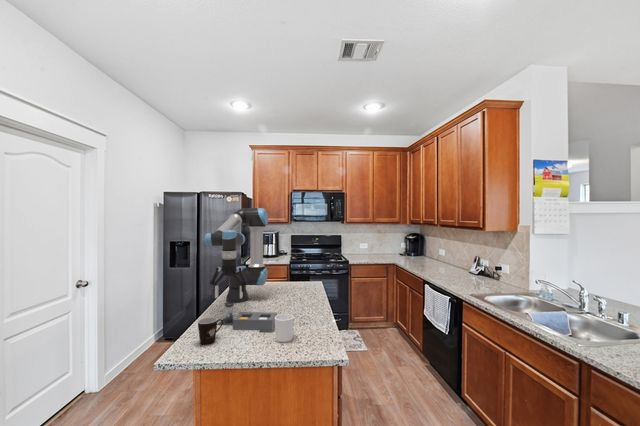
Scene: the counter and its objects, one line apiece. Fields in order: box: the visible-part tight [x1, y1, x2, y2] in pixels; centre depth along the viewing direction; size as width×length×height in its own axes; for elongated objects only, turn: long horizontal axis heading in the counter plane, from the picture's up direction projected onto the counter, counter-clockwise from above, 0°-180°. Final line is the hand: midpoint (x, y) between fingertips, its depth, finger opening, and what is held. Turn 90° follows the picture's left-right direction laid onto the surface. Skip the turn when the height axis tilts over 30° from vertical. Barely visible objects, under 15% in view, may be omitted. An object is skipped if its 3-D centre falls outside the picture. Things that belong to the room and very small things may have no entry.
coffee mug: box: [197, 316, 224, 346], centre depth 134 cm, size 12×9×10 cm
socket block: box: [232, 311, 278, 333], centre depth 151 cm, size 12×20×6 cm, turn 87°
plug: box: [224, 301, 235, 323], centre depth 157 cm, size 5×5×10 cm
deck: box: [217, 318, 233, 326], centre depth 157 cm, size 10×10×1 cm
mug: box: [274, 313, 295, 344], centre depth 137 cm, size 11×9×10 cm
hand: (228, 297), depth 157 cm, fingers open, 13 cm apart
